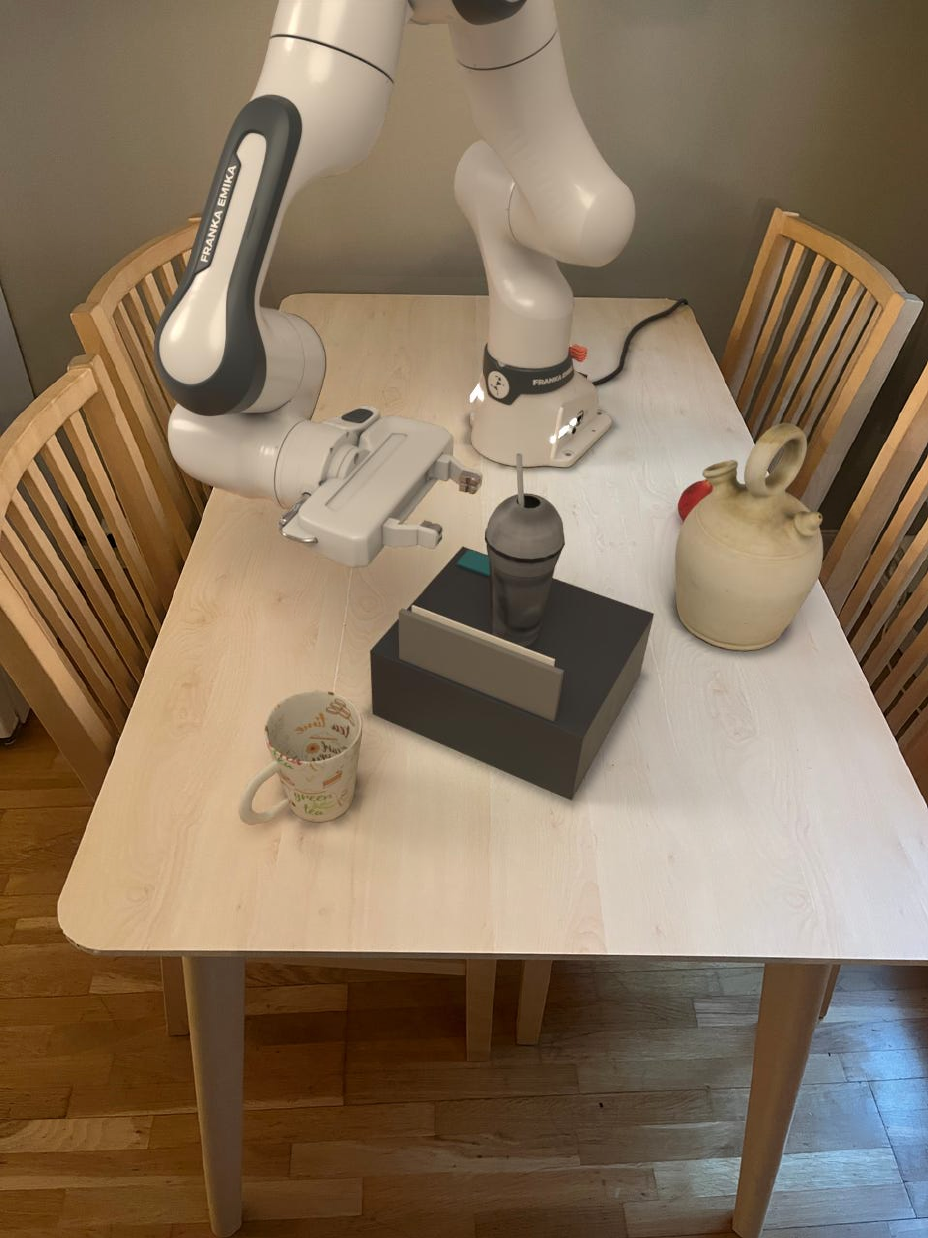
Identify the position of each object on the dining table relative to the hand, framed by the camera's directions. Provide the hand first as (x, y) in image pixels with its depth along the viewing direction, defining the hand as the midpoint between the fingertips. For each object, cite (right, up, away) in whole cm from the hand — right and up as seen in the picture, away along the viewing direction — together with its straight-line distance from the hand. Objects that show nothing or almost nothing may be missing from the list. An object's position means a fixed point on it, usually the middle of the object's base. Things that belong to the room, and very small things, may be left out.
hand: (460, 509), depth 84 cm
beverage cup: (+5, -11, +7) cm, 14 cm away
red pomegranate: (+30, +2, +36) cm, 47 cm away
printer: (+5, -18, +13) cm, 22 cm away
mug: (-14, -28, +1) cm, 31 cm away
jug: (+31, -10, +23) cm, 40 cm away
